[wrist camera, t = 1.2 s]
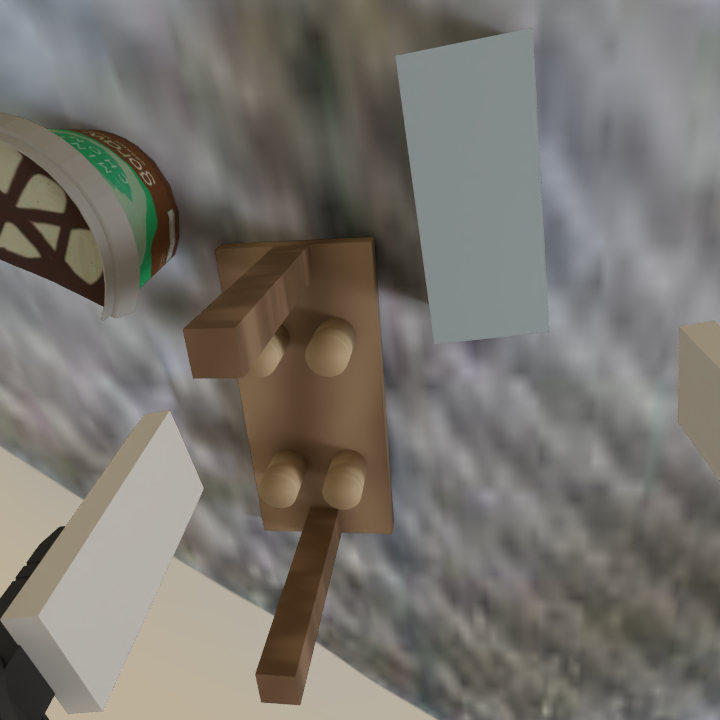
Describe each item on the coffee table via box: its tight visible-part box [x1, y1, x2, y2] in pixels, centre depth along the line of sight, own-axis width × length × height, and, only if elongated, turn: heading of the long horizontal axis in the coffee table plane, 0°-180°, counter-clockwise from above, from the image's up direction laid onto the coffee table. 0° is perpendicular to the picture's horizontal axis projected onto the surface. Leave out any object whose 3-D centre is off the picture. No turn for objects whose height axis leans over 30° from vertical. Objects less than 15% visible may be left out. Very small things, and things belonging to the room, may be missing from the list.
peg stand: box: [183, 237, 394, 705], centre depth 32 cm, size 9×20×14 cm, turn 4°
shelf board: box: [395, 28, 549, 344], centre depth 29 cm, size 6×13×6 cm, turn 10°
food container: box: [0, 112, 179, 321], centre depth 30 cm, size 12×6×10 cm, turn 64°
